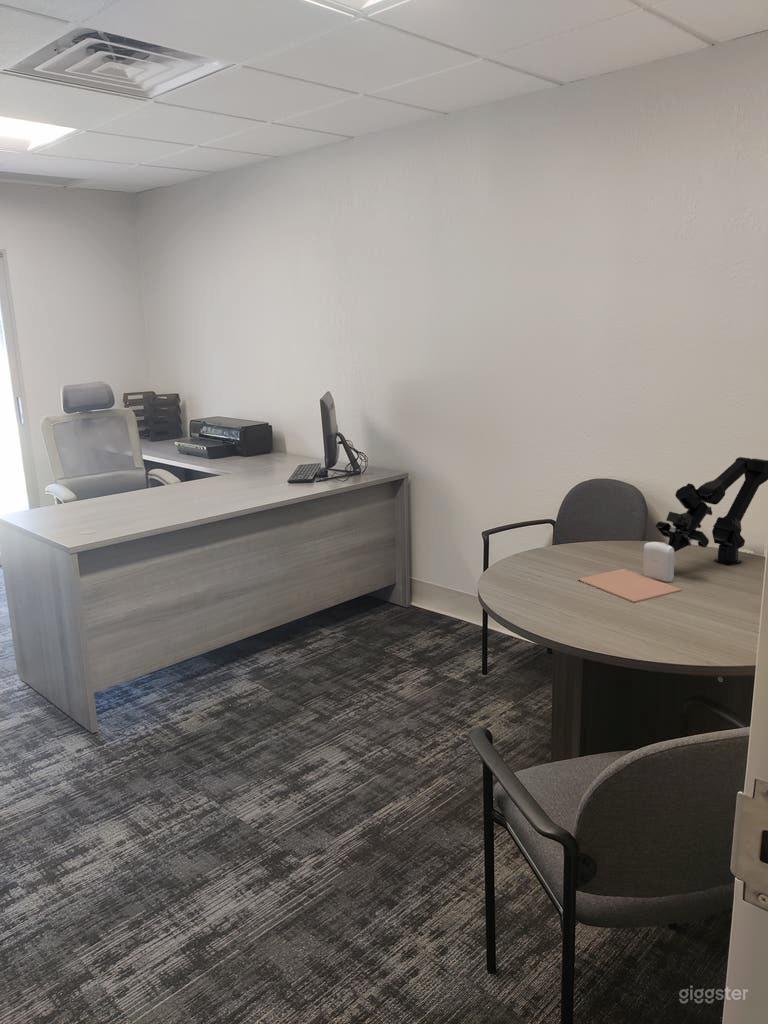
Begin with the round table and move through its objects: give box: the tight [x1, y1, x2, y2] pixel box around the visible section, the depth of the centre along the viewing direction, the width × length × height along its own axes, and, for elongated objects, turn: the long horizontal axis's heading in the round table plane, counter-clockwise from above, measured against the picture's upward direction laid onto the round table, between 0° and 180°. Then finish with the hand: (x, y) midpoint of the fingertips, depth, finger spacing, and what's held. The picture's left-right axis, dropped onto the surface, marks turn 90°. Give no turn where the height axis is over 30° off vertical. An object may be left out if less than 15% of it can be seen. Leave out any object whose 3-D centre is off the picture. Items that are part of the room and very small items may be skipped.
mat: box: [577, 568, 683, 603], centre depth 251 cm, size 20×26×1 cm
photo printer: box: [642, 541, 675, 583], centre depth 255 cm, size 10×4×12 cm, turn 39°
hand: (667, 553), depth 256 cm, fingers closed
